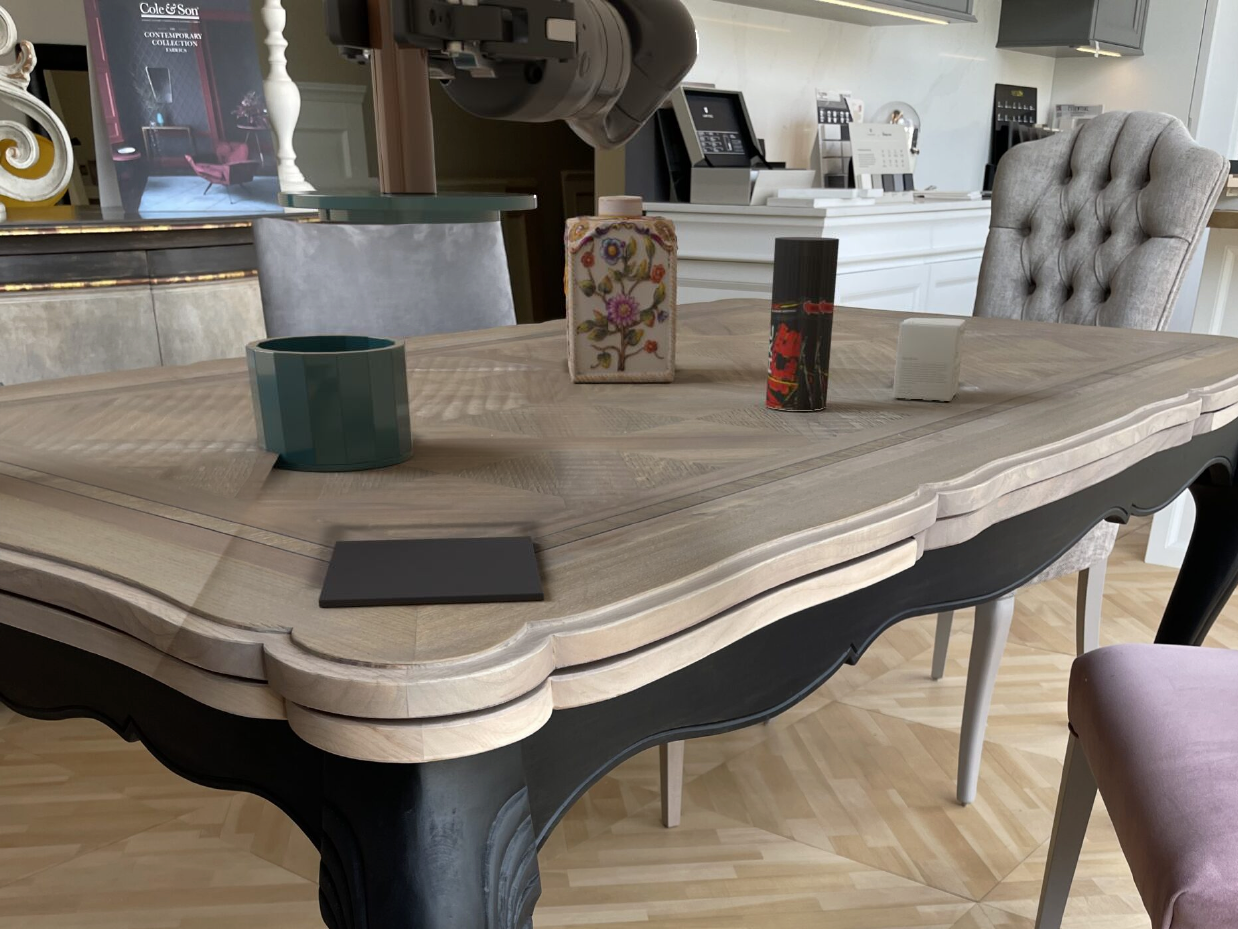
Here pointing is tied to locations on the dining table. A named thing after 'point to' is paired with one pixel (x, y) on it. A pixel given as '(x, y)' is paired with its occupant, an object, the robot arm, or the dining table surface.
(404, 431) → the canister
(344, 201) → the lid
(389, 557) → the mat
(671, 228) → the decorative jar
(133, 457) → the dining table surface
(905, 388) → the product box
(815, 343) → the deodorant
